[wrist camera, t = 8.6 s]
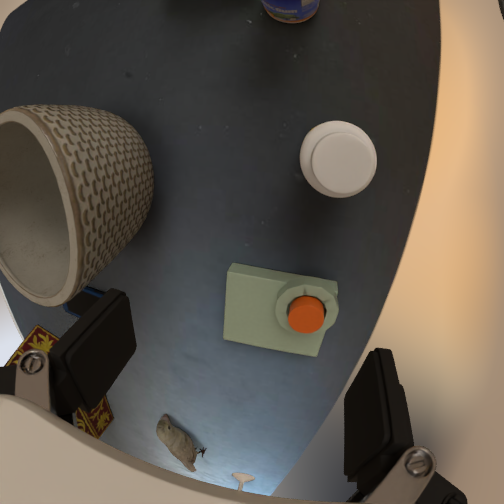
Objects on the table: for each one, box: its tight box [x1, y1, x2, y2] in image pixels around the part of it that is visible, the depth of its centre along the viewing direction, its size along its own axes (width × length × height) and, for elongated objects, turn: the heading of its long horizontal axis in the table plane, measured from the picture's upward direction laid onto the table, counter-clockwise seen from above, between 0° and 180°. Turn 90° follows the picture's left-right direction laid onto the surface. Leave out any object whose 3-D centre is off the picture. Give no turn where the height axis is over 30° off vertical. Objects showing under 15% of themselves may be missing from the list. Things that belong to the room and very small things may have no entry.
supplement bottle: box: [300, 121, 377, 198], centre depth 21 cm, size 6×6×10 cm
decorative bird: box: [156, 414, 207, 472], centre depth 51 cm, size 5×16×7 cm, turn 22°
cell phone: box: [63, 287, 105, 318], centre depth 41 cm, size 7×14×1 cm, turn 82°
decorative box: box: [5, 325, 113, 439], centre depth 49 cm, size 28×19×15 cm
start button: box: [288, 296, 324, 333], centre depth 28 cm, size 4×4×2 cm
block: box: [223, 263, 339, 357], centre depth 32 cm, size 12×11×4 cm
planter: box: [0, 105, 154, 307], centre depth 23 cm, size 17×17×16 cm
